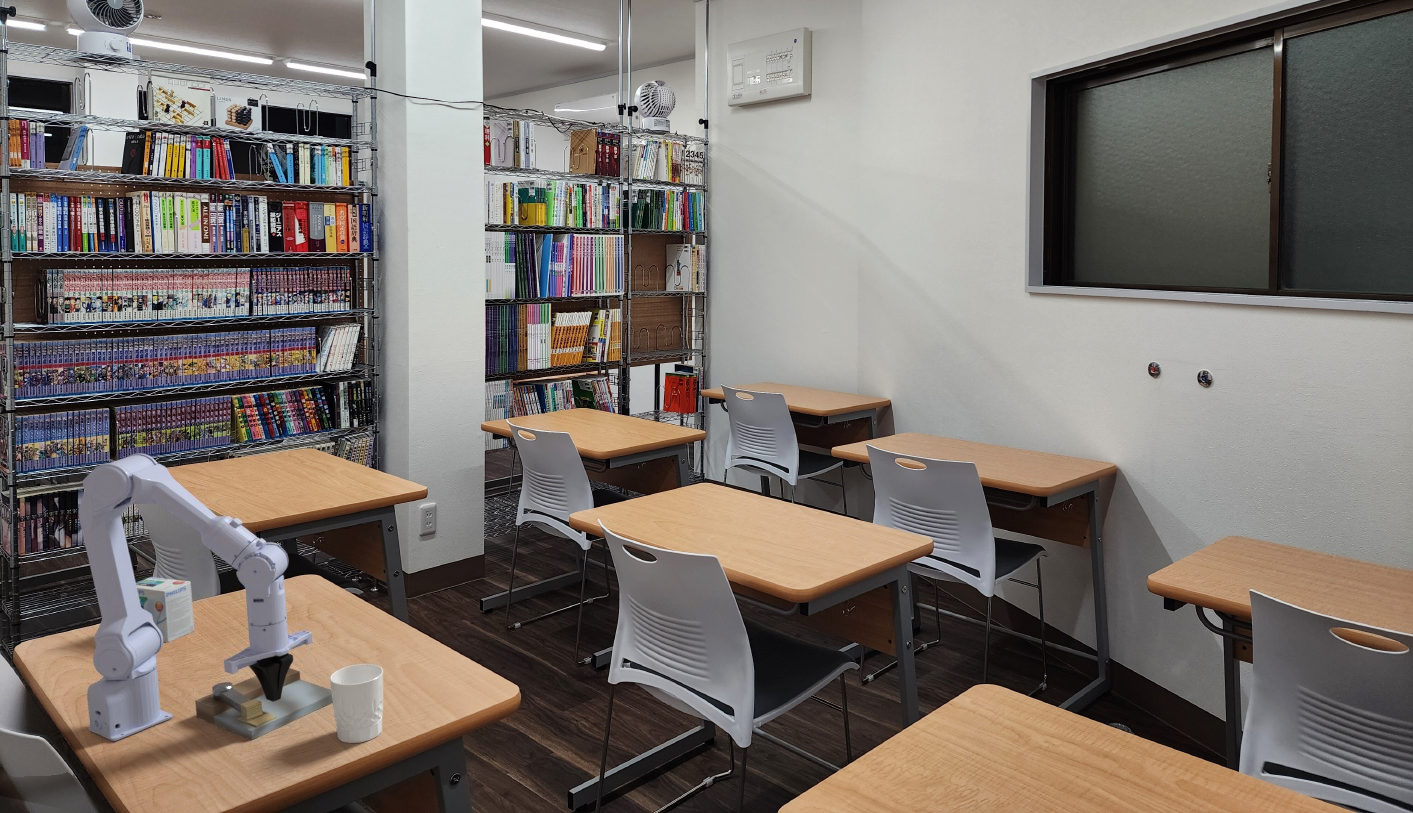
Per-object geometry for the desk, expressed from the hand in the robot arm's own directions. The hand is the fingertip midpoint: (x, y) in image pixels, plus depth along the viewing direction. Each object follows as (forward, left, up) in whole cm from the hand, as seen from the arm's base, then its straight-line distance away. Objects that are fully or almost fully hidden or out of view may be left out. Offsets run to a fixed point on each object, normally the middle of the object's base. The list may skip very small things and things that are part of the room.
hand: (273, 698), depth 153 cm
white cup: (+4, -16, -4) cm, 17 cm away
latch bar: (-4, +4, 0) cm, 6 cm away
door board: (+2, +4, -3) cm, 5 cm away
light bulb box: (+12, +54, -4) cm, 55 cm away
